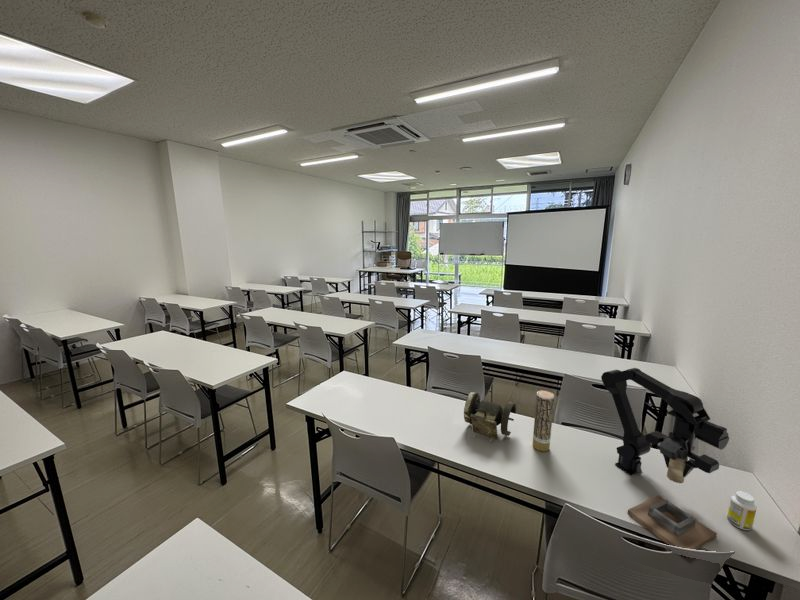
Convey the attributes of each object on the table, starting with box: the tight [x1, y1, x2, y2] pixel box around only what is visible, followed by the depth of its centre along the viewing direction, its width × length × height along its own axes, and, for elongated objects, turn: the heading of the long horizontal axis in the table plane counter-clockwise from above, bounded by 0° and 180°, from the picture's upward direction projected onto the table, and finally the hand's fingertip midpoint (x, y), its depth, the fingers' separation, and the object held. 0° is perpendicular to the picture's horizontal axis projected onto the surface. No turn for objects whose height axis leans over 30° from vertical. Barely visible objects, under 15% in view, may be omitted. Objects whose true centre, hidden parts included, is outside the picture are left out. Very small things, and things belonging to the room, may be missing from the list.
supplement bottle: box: [726, 490, 757, 531], centre depth 101 cm, size 6×6×10 cm
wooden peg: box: [666, 457, 689, 484], centre depth 111 cm, size 4×4×9 cm
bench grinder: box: [463, 391, 517, 443], centre depth 149 cm, size 20×22×20 cm
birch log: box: [532, 390, 555, 452], centre depth 137 cm, size 7×7×25 cm
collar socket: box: [627, 494, 718, 550], centre depth 101 cm, size 16×16×4 cm
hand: (676, 472), depth 111 cm, fingers closed on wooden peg, 4 cm apart
